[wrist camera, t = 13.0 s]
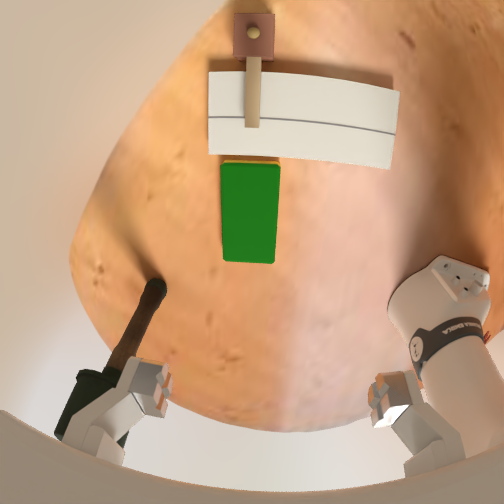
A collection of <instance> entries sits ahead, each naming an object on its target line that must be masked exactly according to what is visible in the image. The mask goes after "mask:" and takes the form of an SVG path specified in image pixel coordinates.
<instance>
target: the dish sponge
mask: <svg viewBox="0 0 504 504" xmlns="http://www.w3.org/2000/svg"><path fill="white" fill-rule="evenodd" d="M220 168H221V213H222V245H223V259H224V260H225V261H231V262H249V263H267V264H272V263H274V261H275V247H276V233H277V218H278V202H279V186H280V163H279V162H278V161H259V160H225V161H224V162H223V163H222V164H221V166H220Z"/></svg>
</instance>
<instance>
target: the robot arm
mask: <svg viewBox="0 0 504 504" xmlns="http://www.w3.org/2000/svg"><path fill="white" fill-rule="evenodd" d="M445 264H446V265H445ZM489 282H490V275H489V273H488V272H487V271H485V270H483V269H480V268H477V267H475V266H472V265H469V264H466V263H463V262H461V261H458V260H455V259H452V258H449V257H446V256H443V255H441V256H438V257H437V258H436V259H434V260H433V261H432V262H431V263H430V264H429V265H428V266H427V267H426V268H424V269H423V270H421V271H419V272H417V273H415V274H413V275H412V276H410V277H409V278H408V279H406V280H405V281H404V282H403V283H402V284H401V285H400V286H399V287H398V288H397V290H396V291H395V292H394V294H393V296H392V298H391V300H390V302H389V305H388V317H389V320H390V321H391V323H392V324H393V325H394V326H395V327H396V329H397V330H398V331H399V333H400V334H401V336H402V337H403V339H404V341H405V342H406V344H407V346H408V348H409V350H410V355H411V359H412V363H413V366H414V368H415V371H416V374H417V376H418V379H419V380H420V381H421V382H422V383H423V386H424V389H425V392H426V395H427V398H428V402H429V404H428V403H424V401H423V398H422V395H421V391H420V388H419V385H418V382H417V379H416V376H415V373H414V372H413V371H411V370H409V371H397V372H387V373H379V374H378V375H377V376H376V378H375V379H376V382H374V383H373V384H371V386H370V388H369V392H368V403H369V406H370V407H371V408H372V409H373V411H372V412H371V419H372V425H373V428H374V427H384V426H391V428H392V429H393V430H394V431H395V433H396V434H397V435H398V436H399V438H400V439H401V440H402V442H403V443H404V444H405V445H406V447H407V448H408V449H409V450H410V452H411V453H412V454H413V455H414V456H413V457H412V458H410V459H409V460H408V461H406V462H405V464H404V470H405V478H403V479H398V480H394V481H389V482H384V483H379V484H373V485H367V486H361V487H353V488H346V489H336V490H325V491H307V492H264V491H263V492H262V491H247V490H234V489H225V488H216V487H210V486H203V485H196V484H191V483H186V482H181V481H175V480H171V479H166V478H162V477H158V476H154V475H150V474H147V473H143V472H139V471H136V470H133V469H129V468H126V467H123V466H122V463H123V459H124V455H125V451H124V449H122V448H121V447H120V446H119V445H118V444H117V443H116V442H117V441H118V440H119V439H120V438H121V437H122V436H123V435H124V434H125V433H126V432H127V431H129V430H130V429H131V428H132V427H133V426H134V425H135V424H136V423H137V422H138V421H139V420H140V419H141V418H142V417H143V416H144V414H145V415H151V416H155V417H160V418H164V417H165V413H166V409H167V406H168V404H167V401H166V399H167V398H168V397H169V396H170V395H171V392H172V386H173V379H172V375H171V374H170V373H169V372H168V370H169V366H168V363H165V362H159V361H154V360H148V359H144V358H139V357H134V356H131V357H130V358H129V359H128V361H127V363H126V365H125V368H124V370H123V372H122V374H121V377H120V379H119V382H118V384H117V386H116V388H111V389H110V390H109V391H107V392H106V393H104V394H103V395H102V396H100V397H99V398H97V399H96V400H94V401H93V402H92V403H90V404H89V405H87V406H86V407H84V408H83V409H81V410H80V411H79V412H77V413H76V414H74V415H73V416H72V418H71V420H70V422H69V425H68V427H67V429H66V432H65V434H64V437H63V439H62V441H61V442H60V441H58V440H56V439H54V438H52V437H50V436H48V435H46V434H44V433H42V432H40V431H38V430H36V429H35V428H33V427H31V426H29V425H28V424H26V423H24V422H23V421H21V420H19V419H17V418H16V417H14V416H13V415H11V414H10V413H8V412H6V411H4V410H0V504H504V380H503V378H502V377H501V375H500V373H499V371H498V369H497V367H496V365H495V363H494V362H493V360H492V358H491V356H490V354H489V352H488V350H487V348H486V346H485V344H486V343H487V341H488V340H489V338H490V336H491V335H490V336H489V337H488V338H487V336H488V334H489V331H487V333H486V334H485V336H483V330H482V326H483V324H484V322H485V319H486V317H487V315H488V313H489V310H490V306H491V299H490V296H489V294H488V292H487V290H488V286H489ZM486 338H487V339H486Z"/></svg>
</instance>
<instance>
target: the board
mask: <svg viewBox="0 0 504 504" xmlns="http://www.w3.org/2000/svg"><path fill="white" fill-rule="evenodd" d="M245 94H246V71H227V72H209V96H208V139H209V154H221V155H253V156H272V157H287V158H300V159H311V160H321V161H330V162H339V163H347V164H355V165H362V166H369V167H376V168H382V169H389V170H390V165H391V159H392V153H393V146H394V139H395V132H396V124H397V116H398V107H399V96H400V92H399V91H395V90H391V89H387V88H383V87H378V86H373V85H369V84H364V83H358V82H353V81H347V80H341V79H334V78H327V77H320V76H311V75H302V74H290V73H275V72H261V96H260V124H259V128H245Z"/></svg>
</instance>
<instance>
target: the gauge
mask: <svg viewBox="0 0 504 504" xmlns="http://www.w3.org/2000/svg"><path fill="white" fill-rule="evenodd" d="M274 34H275V14H264V13H235V20H234V48H233V56H234V57H235V58H236V59H238V60H239V61H246V94H245V128H259V124H260V96H261V68H262V61H272V62H274Z"/></svg>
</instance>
